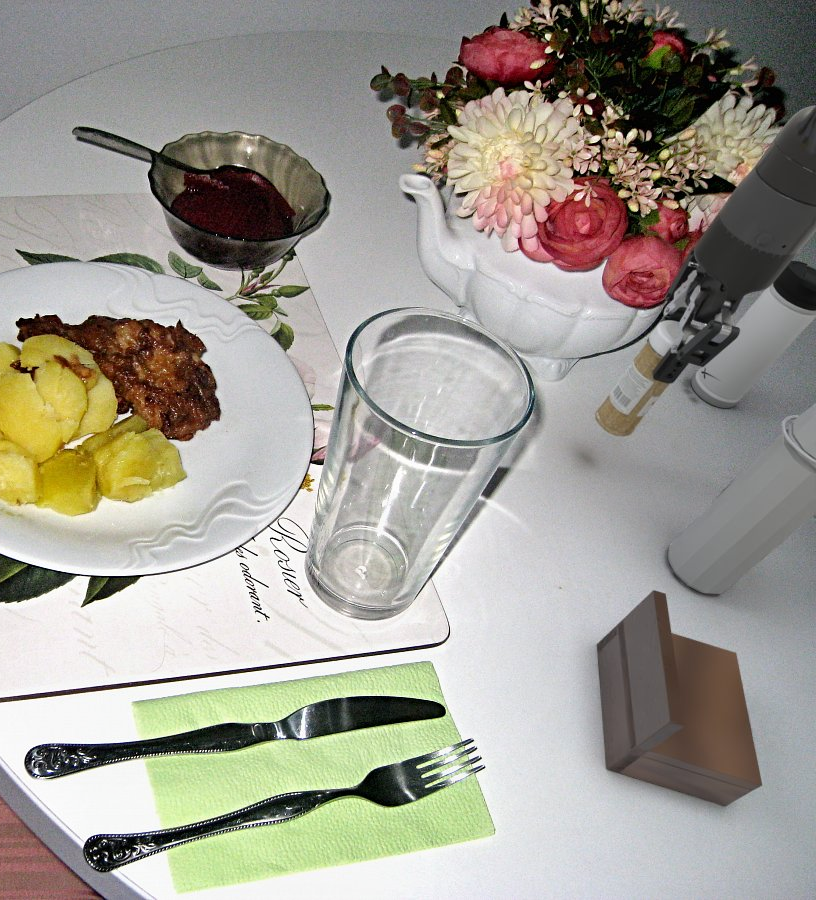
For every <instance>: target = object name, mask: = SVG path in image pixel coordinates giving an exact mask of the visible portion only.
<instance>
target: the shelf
mask: <svg viewBox="0 0 816 900" xmlns="http://www.w3.org/2000/svg"><path fill="white" fill-rule="evenodd" d="M670 619H671V618H670V613H669V606H668V599H667V594H666V592H662V591H659V590H655V589H652V590H651V592H649V593H648V595H647V596H645V597H644V598H643V599H642V600H641V601H640V602H639V603H638V604H637V605H636V606H635V607H634V608H633V609H632V610H631V611H630V612H629V613H627V615H626V616H624V618H623V619H621V620H620V621H619V622H618V623H617V624H616V625H615V626H614V627H613V628H611V630H609V632H607V634H606V635H605V636H603V638H602V639H600V640H599V641H598V642H597V643H596V647H597V661H598V673H599V674H598V675H599V687H600V689H599V690H600V697H601V698H600V702H601V712H602V714H601V715H602V728H603V741H604V752H605V754H604V755H605V769H606V770H608V771H610V772H614V773H618V774H621V775H625V776H627V777H631V778H634V779H637V780H640V781H643V782H647V783H651V784H653V785H657V786H660V787H663V788H667V789H669V790H673V791H676V792H678V793H683V794H685V795H689V796H692V797H696V798H699V799H702V800H705V801H708V802H710V803H714V804H717V805H721V806H724V807H727V806H729V805H730V804H733V803H734V802H736V801H737V800H739V799H741V798H743V797H745V796H746V795H749V794H750V793H751V792H753V791H755V790H757V789H758V788H760V787H762V786H763V782H762V777H761V772H760V771H761V770H760V767H759V766H760V765H759V761H758V756H757V752H756V745H755V741H754V735H753V732H752V726H751V720H750V715H749V711H748V705H747V700H746V696H745V695H746V694H745V690H744V685H743V680H742V674H741V670H740V664H739V660H738V655H737V652H736V651H732V650H728V649H725V648H722V647H719V646H716V645H713V644H709V643H706V642H703V641H699V640H696V639H693V638H689V637H686V636H683V635H680V634H677V633H674V632H672V627H671V620H670Z"/></svg>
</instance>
